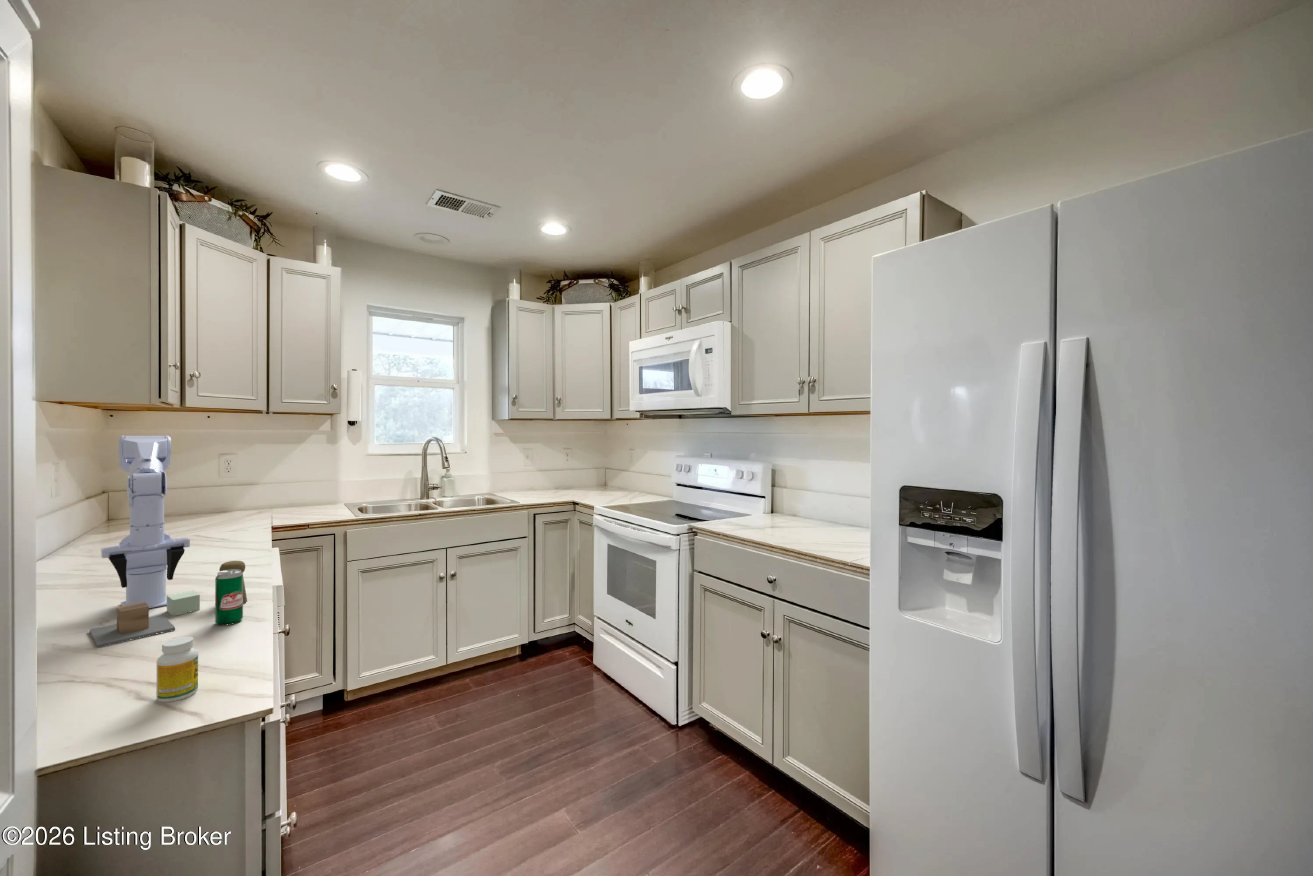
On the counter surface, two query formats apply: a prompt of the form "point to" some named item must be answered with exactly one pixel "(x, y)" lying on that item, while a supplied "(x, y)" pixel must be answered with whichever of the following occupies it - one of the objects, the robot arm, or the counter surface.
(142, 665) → the counter surface
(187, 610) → the sage block
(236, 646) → the counter surface
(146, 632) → the mat
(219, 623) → the soda can
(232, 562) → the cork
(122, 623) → the walnut block
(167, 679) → the supplement bottle
